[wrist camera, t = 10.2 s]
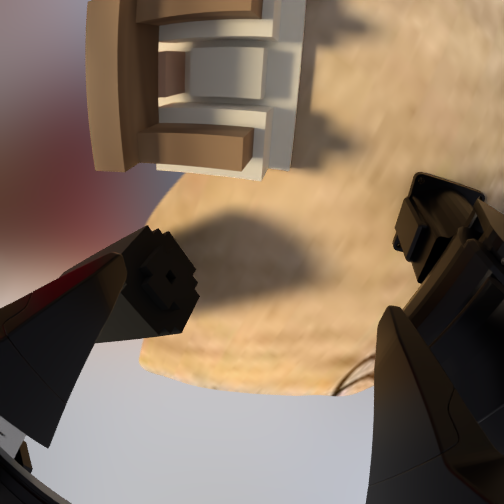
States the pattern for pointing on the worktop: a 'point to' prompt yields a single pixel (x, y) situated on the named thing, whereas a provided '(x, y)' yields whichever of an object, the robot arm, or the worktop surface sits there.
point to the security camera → (149, 287)
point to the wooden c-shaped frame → (236, 81)
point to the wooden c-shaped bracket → (151, 88)
